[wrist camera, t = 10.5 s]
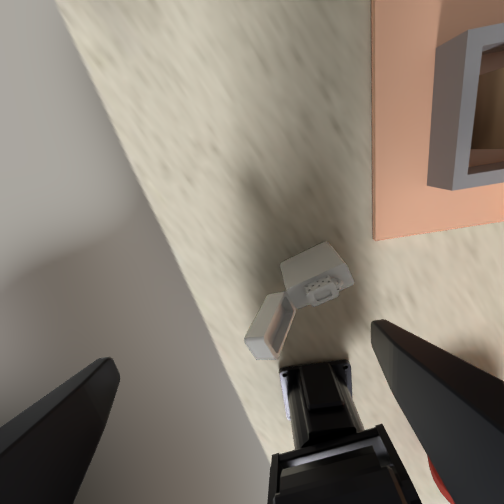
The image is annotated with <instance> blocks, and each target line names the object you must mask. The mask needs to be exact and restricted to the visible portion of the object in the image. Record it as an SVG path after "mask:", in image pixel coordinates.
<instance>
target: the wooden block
mask: <svg viewBox="0 0 504 504" xmlns="http://www.w3.org/2000/svg"><path fill="white" fill-rule="evenodd" d="M471 149H504V67H503V68H500V69H497V70H494V71H491V72H488V73H485V74H482V75H479V82H478V90H477V99H476V107H475V116H474V124H473V133H472V141H471Z"/></svg>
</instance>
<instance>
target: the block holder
mask: <svg viewBox="0 0 504 504" xmlns="http://www.w3.org/2000/svg"><path fill="white" fill-rule="evenodd" d="M371 24H372V209H373V239H374V240H375V241H378V240H385V239H391V238H398V237H404V236H411V235H417V234H424V233H430V232H437V231H443V230H450V229H456V228H463V227H469V226H476V225H482V224H489V223H495V222H501V221H504V149H471V141H472V133H473V124H474V116H475V107H476V99H477V90H478V82H479V75H482V74H485V73H488V72H491V71H494V70H497V69H500V68H503V67H504V0H371Z"/></svg>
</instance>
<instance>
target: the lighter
mask: <svg viewBox="0 0 504 504" xmlns="http://www.w3.org/2000/svg"><path fill="white" fill-rule="evenodd" d="M280 268H281V272H282V276H283V280H284V284H285V289H286V292H285V291H284V292H279V293H273V294H268V295H267V297H266V298H265V300H264V302H263V304H262V306H261V308H260V310H259V311H258V313H257V315H256V317H255V319H254V321H253V323H252V325H251V326H250V328H249V330H248V332H247V334H246V336H245V338H244V341H245V344H246V345H247V347H248V348H249V350H250V351H251V353H252V354H253V356H254V357H255V359H256V360H276V359H278V358H279V356H280V353H281V350H282V348H283V345H284V343H285V340H286V337H287V335H288V332H289V329H290V327H291V324H292V321H293V319H294V316H295V313H296V308H297V309H300V308H302V307H305V306H307V305H309V304H311V305H312V306H313V307H315V306H318V305H320V304H322V303H325V302H327V301H329V300H331V299H334V298H336V297H338V296H339V291H341V290H343V289H345V288H348V287H350V286H352V285H353V284H354V280H353V277H352V275H351V273H350V271H349V268H348V266H347V264H346V263H345V262H344V260H343V259H342V258H341V257H340V256H339V254H338V253H337V252H336V251H335V250H334V248H333V247H332V246H331V245H330V244H329V242H327V241H324V242H322V243H320V244H318V245H316V246H314V247H312V248H310V249H308V250H306V251H304V252H302V253H300V254H298V255H295V256H293V257H291V258H289V259H287V260H285V261H283V262H281V264H280Z"/></svg>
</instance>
